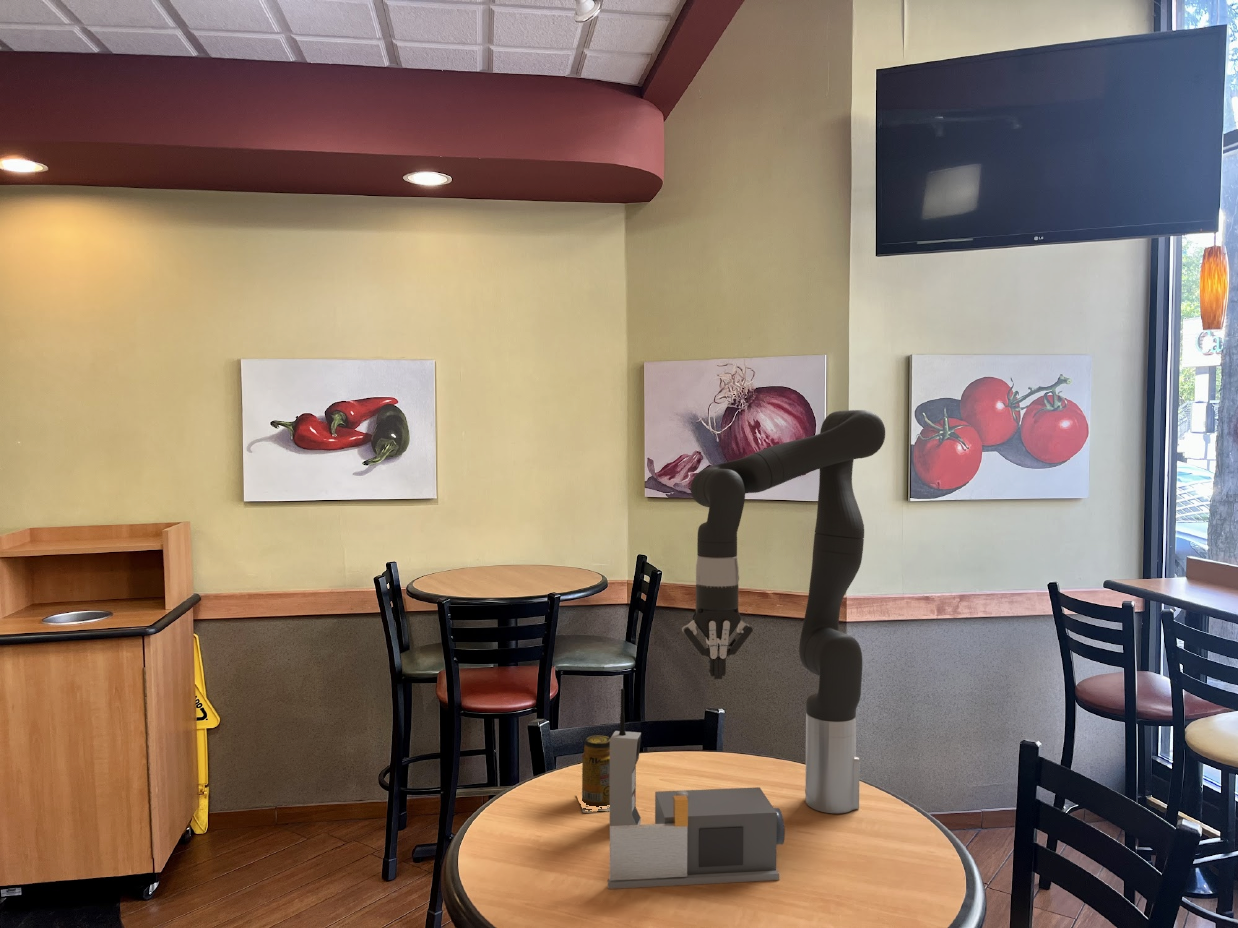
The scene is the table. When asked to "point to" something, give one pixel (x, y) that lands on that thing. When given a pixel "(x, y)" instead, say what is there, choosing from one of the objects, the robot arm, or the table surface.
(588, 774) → the yellow drink can
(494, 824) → the table surface
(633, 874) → the side door
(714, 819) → the grey box machine
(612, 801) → the vintage mobile phone
